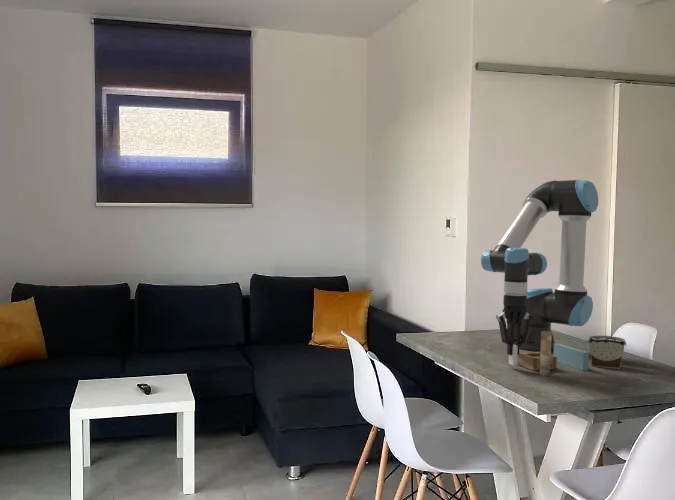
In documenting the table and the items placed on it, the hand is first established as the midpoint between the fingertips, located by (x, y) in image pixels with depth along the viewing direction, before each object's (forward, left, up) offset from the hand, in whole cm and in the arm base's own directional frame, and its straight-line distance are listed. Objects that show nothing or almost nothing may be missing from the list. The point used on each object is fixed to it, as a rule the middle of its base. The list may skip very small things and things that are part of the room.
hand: (512, 364), depth 229 cm
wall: (-23, 0, -2) cm, 23 cm away
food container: (-35, +3, -2) cm, 35 cm away
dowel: (-6, +10, -2) cm, 12 cm away
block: (-10, 0, -2) cm, 10 cm away
